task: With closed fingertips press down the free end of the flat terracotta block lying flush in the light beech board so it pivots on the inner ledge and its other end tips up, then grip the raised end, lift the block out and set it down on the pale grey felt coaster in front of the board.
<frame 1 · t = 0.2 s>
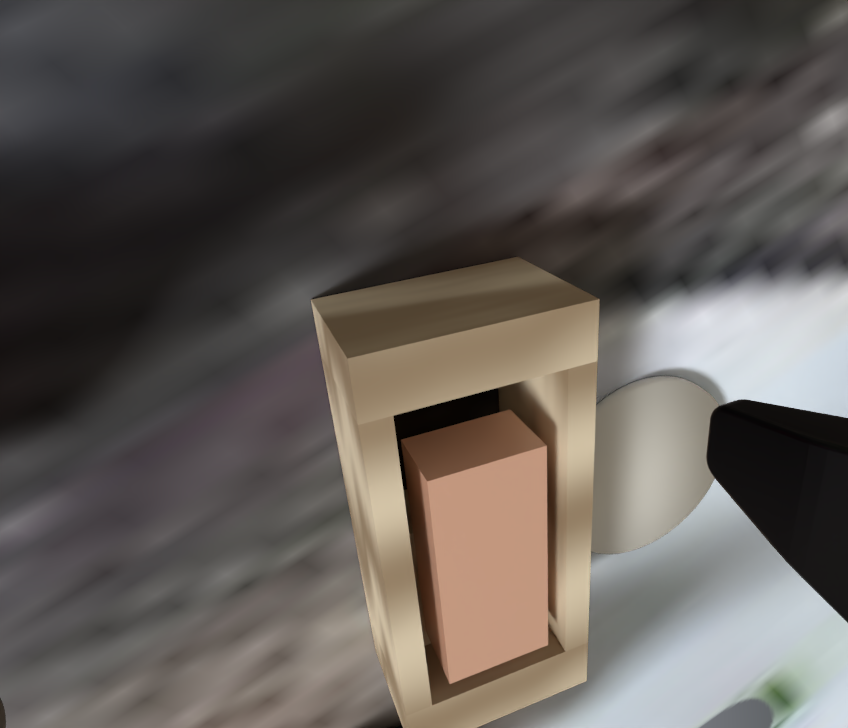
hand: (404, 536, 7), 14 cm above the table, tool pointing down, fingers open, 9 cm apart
terracotta block: (465, 527, 23), point 2 cm above the table, touching beech pocket board
beech pocket board: (439, 479, 25), on the table
felt coaster: (636, 465, 29), on the table
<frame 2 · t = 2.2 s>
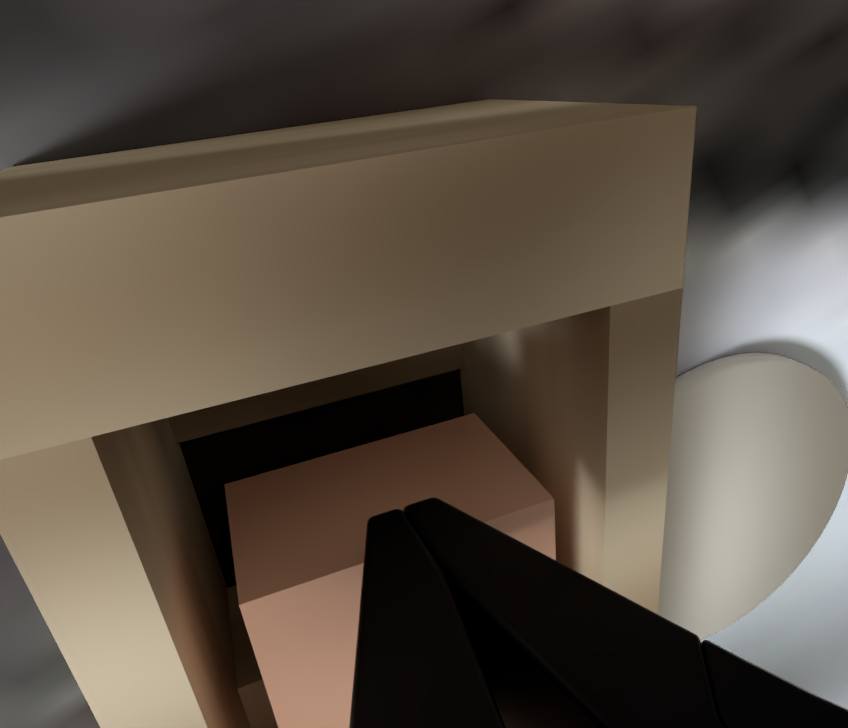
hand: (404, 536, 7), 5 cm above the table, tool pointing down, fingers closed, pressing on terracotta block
terracotta block: (394, 650, 12), point 3 cm above the table, touching beech pocket board, gripper
beech pocket board: (356, 545, 14), on the table
felt coaster: (704, 505, 17), on the table
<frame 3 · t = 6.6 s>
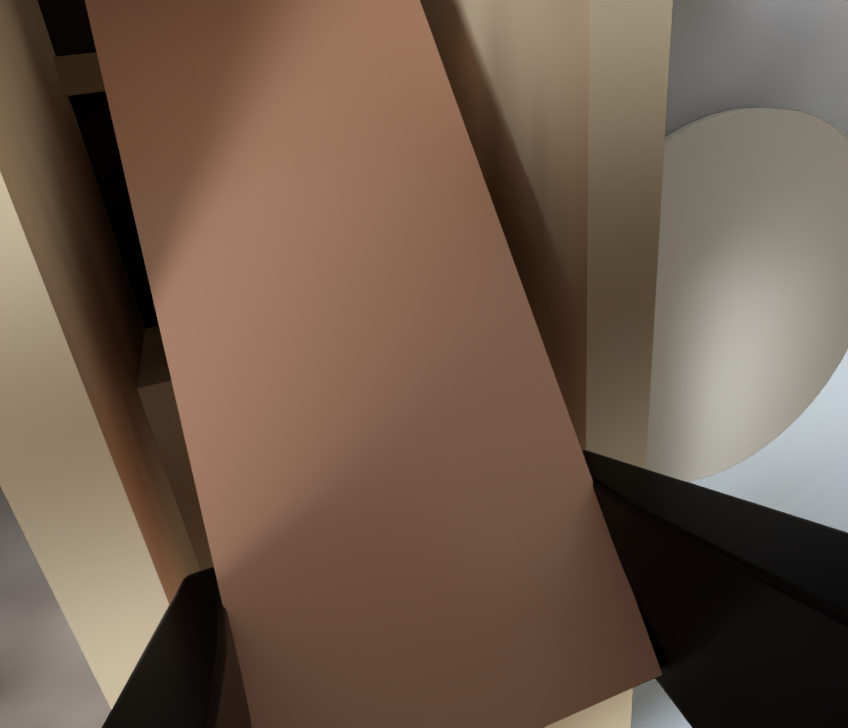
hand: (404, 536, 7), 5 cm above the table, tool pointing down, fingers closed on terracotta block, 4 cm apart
terracotta block: (340, 374, 9), point 3 cm above the table, tilted 39°, touching beech pocket board, gripper
beech pocket board: (302, 294, 11), on the table
felt coaster: (711, 309, 15), on the table
when the fingers open (8 cm above the table, at t = 9.6 s): terracotta block drops 5 cm, resting on felt coaster.
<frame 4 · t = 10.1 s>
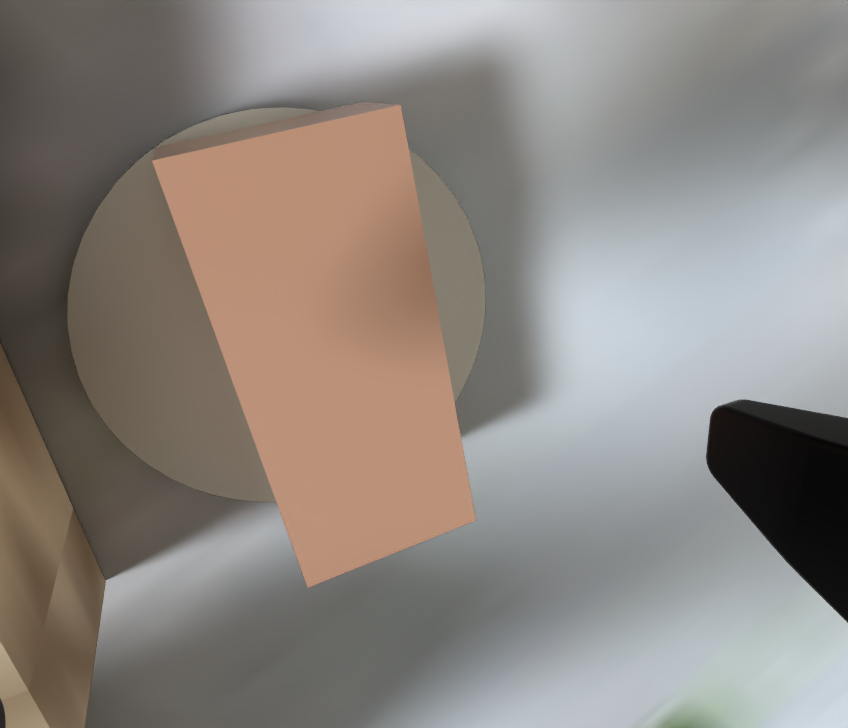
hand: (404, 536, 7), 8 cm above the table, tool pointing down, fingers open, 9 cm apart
terracotta block: (321, 333, 14), point 1 cm above the table, touching felt coaster
felt coaster: (295, 319, 14), on the table
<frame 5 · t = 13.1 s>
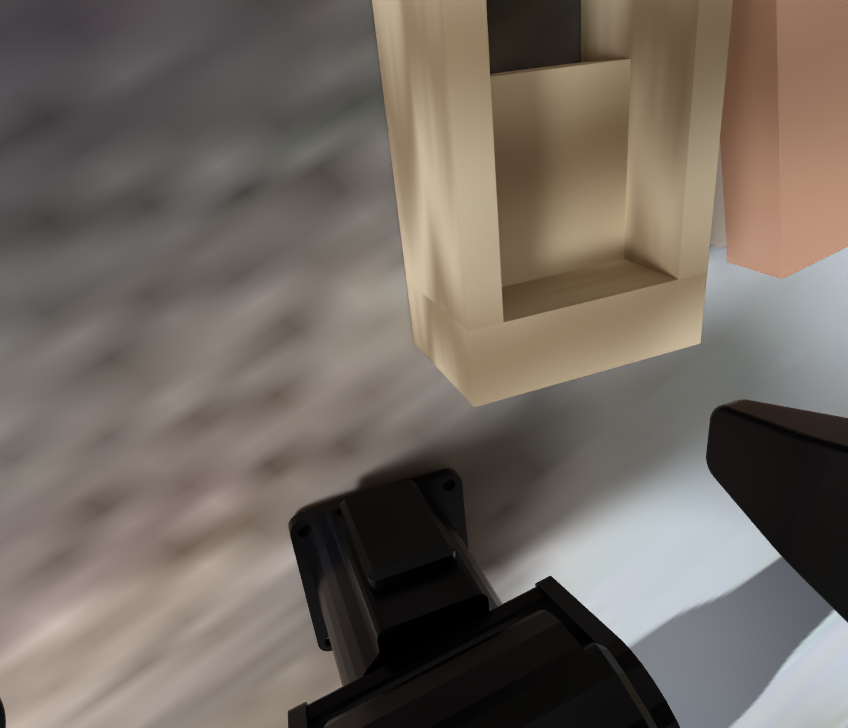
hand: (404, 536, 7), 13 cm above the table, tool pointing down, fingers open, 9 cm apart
terracotta block: (765, 124, 22), point 1 cm above the table, touching felt coaster
beech pocket board: (501, 72, 19), on the table
felt coaster: (744, 118, 22), on the table
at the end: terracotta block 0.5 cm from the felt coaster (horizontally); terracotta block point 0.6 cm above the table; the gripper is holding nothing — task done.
